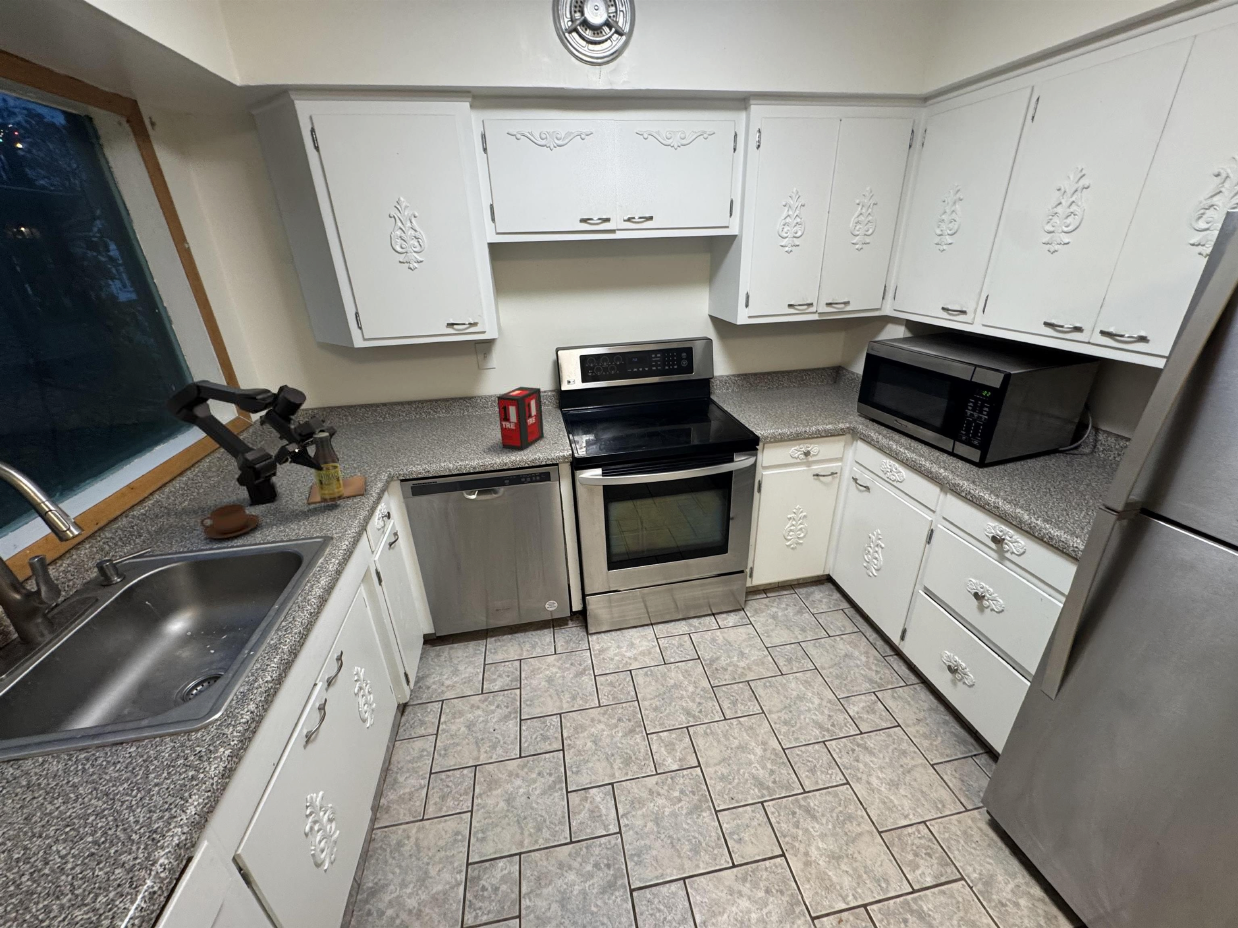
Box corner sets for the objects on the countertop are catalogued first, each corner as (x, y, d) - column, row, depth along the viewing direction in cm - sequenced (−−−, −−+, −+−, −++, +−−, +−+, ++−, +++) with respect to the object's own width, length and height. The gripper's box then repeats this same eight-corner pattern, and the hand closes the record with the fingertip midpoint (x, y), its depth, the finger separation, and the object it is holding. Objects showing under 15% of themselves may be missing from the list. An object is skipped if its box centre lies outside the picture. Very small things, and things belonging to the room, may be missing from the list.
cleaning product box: (524, 434, 206) (520, 386, 198) (543, 436, 203) (540, 388, 196) (502, 447, 192) (497, 396, 184) (522, 450, 189) (518, 398, 181)
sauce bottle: (321, 505, 143) (305, 440, 135) (320, 497, 147) (304, 433, 140) (347, 500, 146) (333, 435, 138) (344, 492, 151) (330, 429, 143)
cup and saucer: (211, 547, 126) (203, 526, 124) (201, 531, 134) (193, 511, 132) (266, 530, 134) (259, 509, 132) (254, 515, 142) (247, 496, 140)
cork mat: (308, 504, 149) (307, 502, 148) (313, 485, 161) (312, 483, 161) (364, 494, 154) (364, 493, 154) (364, 477, 167) (364, 475, 167)
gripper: (272, 417, 128) (319, 460, 131) (324, 398, 145) (365, 437, 148) (253, 444, 133) (300, 485, 135) (306, 423, 150) (347, 460, 152)
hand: (330, 465), depth 142 cm, fingers closed on sauce bottle, 6 cm apart
